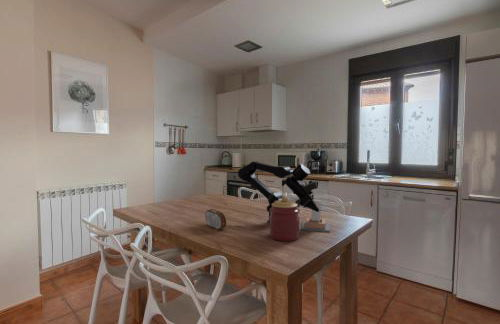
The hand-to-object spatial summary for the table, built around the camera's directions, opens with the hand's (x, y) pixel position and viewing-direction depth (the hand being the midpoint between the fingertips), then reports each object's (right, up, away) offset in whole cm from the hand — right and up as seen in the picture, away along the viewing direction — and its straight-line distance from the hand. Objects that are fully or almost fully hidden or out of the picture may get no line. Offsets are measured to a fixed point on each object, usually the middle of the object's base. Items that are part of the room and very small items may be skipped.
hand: (318, 210), depth 128 cm
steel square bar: (-1, -8, +1) cm, 8 cm away
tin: (-51, -9, 0) cm, 51 cm away
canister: (-18, -9, -14) cm, 25 cm away
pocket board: (-1, -8, +1) cm, 9 cm away
